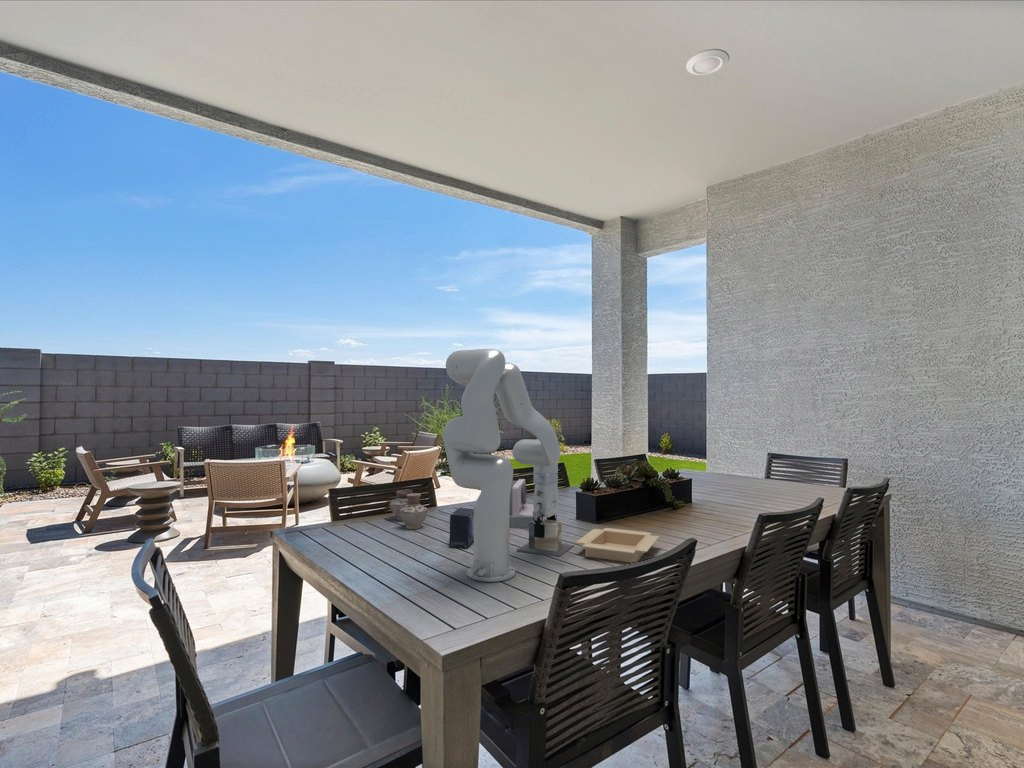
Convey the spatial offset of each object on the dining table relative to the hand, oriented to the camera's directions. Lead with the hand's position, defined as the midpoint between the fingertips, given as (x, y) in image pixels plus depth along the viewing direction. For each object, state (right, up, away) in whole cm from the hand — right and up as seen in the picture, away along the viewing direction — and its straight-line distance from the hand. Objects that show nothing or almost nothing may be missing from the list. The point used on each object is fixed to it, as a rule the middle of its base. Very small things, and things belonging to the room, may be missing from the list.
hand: (545, 533), depth 166 cm
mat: (0, -5, 0) cm, 5 cm away
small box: (-26, -5, +6) cm, 27 cm away
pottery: (-49, -6, +34) cm, 60 cm away
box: (0, -4, 0) cm, 4 cm away
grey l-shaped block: (-10, -6, +36) cm, 38 cm away
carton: (+22, -5, -3) cm, 23 cm away
